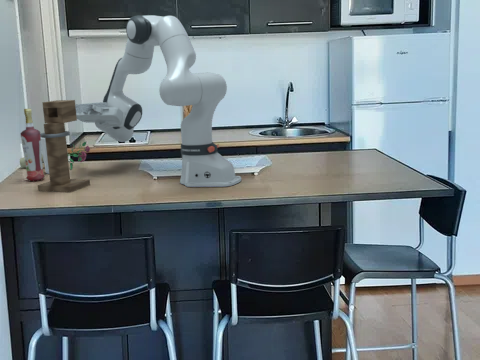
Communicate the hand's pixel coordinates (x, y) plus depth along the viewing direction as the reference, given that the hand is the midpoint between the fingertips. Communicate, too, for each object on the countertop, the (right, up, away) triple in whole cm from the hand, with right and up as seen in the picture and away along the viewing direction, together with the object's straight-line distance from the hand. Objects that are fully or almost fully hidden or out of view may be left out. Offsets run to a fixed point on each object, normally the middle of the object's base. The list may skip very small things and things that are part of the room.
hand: (87, 106), depth 233 cm
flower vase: (-20, -24, +29) cm, 42 cm away
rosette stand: (-6, -31, -12) cm, 34 cm away
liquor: (-22, -29, +5) cm, 36 cm away
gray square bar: (0, -2, +1) cm, 2 cm away
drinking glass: (-19, -25, +19) cm, 37 cm away
